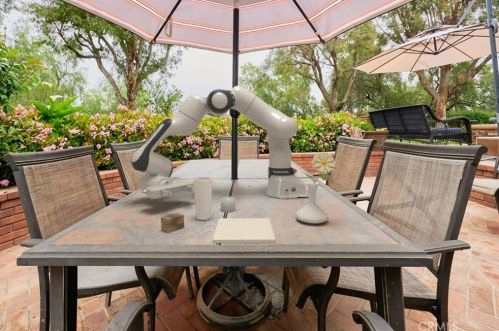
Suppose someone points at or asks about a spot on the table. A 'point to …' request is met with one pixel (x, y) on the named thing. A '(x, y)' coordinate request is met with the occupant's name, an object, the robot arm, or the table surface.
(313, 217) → the flower in vase
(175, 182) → the robot arm
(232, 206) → the grey plastic tub
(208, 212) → the drinking glass
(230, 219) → the cream tile
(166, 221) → the walnut block
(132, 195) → the table surface
